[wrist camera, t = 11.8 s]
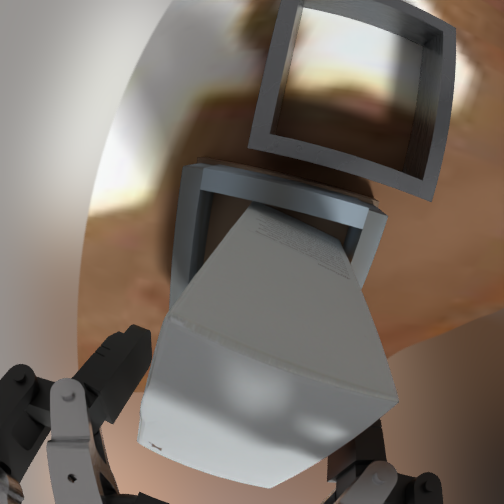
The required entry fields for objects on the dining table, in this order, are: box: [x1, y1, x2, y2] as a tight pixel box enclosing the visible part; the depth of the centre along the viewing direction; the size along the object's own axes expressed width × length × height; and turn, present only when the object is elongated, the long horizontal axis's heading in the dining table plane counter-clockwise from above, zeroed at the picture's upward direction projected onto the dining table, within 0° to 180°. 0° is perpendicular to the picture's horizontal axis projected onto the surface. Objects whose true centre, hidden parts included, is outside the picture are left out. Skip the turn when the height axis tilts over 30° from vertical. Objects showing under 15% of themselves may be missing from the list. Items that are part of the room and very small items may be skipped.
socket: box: [248, 0, 456, 202], centre depth 13 cm, size 11×12×4 cm
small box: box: [137, 201, 399, 488], centre depth 13 cm, size 8×6×13 cm
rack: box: [169, 157, 388, 311], centre depth 18 cm, size 12×13×4 cm
